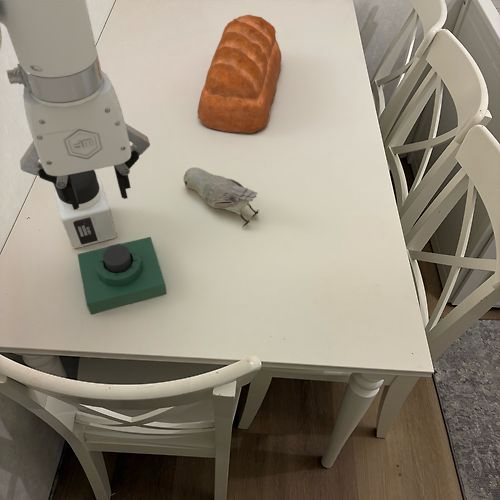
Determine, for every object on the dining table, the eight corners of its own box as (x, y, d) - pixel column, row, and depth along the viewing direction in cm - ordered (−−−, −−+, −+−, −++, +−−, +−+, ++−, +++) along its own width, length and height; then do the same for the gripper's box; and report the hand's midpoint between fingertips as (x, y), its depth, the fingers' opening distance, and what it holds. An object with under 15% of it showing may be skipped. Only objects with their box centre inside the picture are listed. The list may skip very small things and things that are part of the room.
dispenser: (90, 314, 75) (83, 297, 71) (81, 264, 81) (74, 246, 77) (166, 294, 78) (163, 276, 74) (152, 247, 84) (149, 228, 80)
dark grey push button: (107, 276, 74) (105, 268, 72) (103, 256, 76) (101, 248, 75) (134, 269, 75) (132, 261, 73) (128, 250, 77) (126, 242, 76)
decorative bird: (195, 178, 94) (193, 148, 88) (263, 216, 89) (266, 187, 83) (177, 194, 92) (174, 164, 86) (246, 234, 86) (247, 205, 80)
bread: (283, 59, 122) (289, 7, 112) (264, 138, 103) (269, 83, 92) (222, 51, 123) (222, -2, 113) (193, 128, 104) (189, 72, 93)
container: (117, 238, 84) (103, 184, 74) (72, 250, 82) (51, 196, 72) (108, 207, 89) (93, 152, 78) (65, 218, 87) (44, 163, 77)
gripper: (-26, 109, 46) (34, 232, 60) (154, 80, 50) (170, 202, 64) (-27, 66, 50) (29, 191, 64) (139, 43, 54) (156, 165, 68)
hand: (99, 195), depth 64 cm, fingers open, 5 cm apart
